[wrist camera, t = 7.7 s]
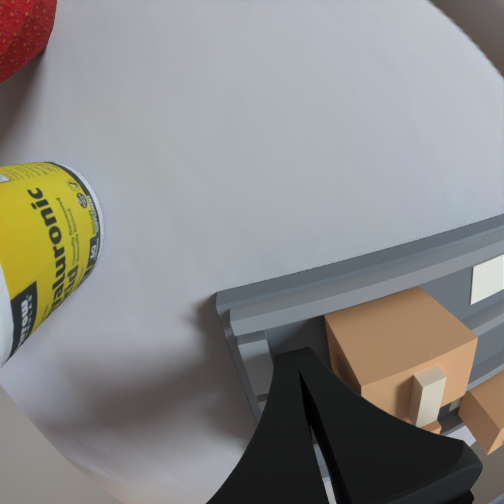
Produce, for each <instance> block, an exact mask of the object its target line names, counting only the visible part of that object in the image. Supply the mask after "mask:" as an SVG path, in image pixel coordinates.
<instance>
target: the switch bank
mask: <svg viewBox="0 0 504 504" xmlns="http://www.w3.org/2000/svg"><path fill="white" fill-rule="evenodd" d="M416 286H419V287H420V288H421V289H423V290H424V291H425V292H426V293H427V294H429V295H430V296H431V297H432V298H433V299H435V300H436V301H437V302H438V303H439V304H441V305H442V306H443V307H444V308H445V309H447V310H448V311H449V312H450V313H451V314H452V315H454V316H455V317H456V318H457V319H458V320H459V321H461V322H462V323H463V324H464V325H465V326H466V327H467V328H469V329H470V330H471V331H472V332H473V333H474V334H475V335H476V336H478V341H477V346H476V351H475V356H474V360H473V365H472V369H471V373H470V377H469V381H468V384H467V388H466V391H468V390H470V389H472V388H474V387H475V386H477V385H479V384H481V383H482V382H484V381H486V380H487V379H489V378H491V377H492V376H494V375H495V374H497V373H499V372H500V371H502V370H503V369H504V214H502V215H499V216H496V217H493V218H489V219H486V220H483V221H480V222H476V223H473V224H470V225H467V226H463V227H460V228H457V229H453V230H450V231H447V232H443V233H440V234H437V235H433V236H430V237H426V238H423V239H420V240H416V241H413V242H409V243H406V244H402V245H399V246H395V247H391V248H388V249H384V250H381V251H377V252H373V253H370V254H366V255H362V256H359V257H355V258H351V259H348V260H344V261H340V262H336V263H333V264H329V265H325V266H321V267H317V268H313V269H309V270H306V271H302V272H298V273H294V274H290V275H286V276H282V277H278V278H274V279H270V280H266V281H262V282H258V283H253V284H249V285H245V286H241V287H237V288H233V289H228V290H224V291H220V292H217V297H216V305H215V306H216V309H217V312H218V315H219V318H220V321H221V324H222V327H223V330H224V333H225V336H226V339H227V342H228V345H229V348H230V351H231V354H232V356H233V359H234V362H235V365H236V368H237V370H238V373H239V376H240V379H241V381H242V384H243V387H244V390H245V392H246V395H247V398H248V400H249V403H250V406H251V408H252V411H253V414H254V416H255V419H256V421H257V424H259V421H260V419H261V416H262V413H263V410H264V407H265V404H266V401H267V398H268V394H269V390H270V386H271V382H272V376H273V369H274V357H275V356H276V355H277V354H281V353H285V352H289V351H293V350H297V349H301V348H304V347H308V346H309V347H311V348H313V350H314V351H315V352H316V354H317V355H318V356H319V357H320V359H321V360H322V361H323V362H324V363H325V364H326V365H327V366H328V367H329V368H330V369H331V370H332V368H331V361H330V353H329V346H328V338H327V331H326V324H325V318H324V315H325V314H329V313H332V312H336V311H339V310H343V309H346V308H350V307H353V306H356V305H360V304H363V303H366V302H370V301H373V300H376V299H379V298H382V297H385V296H389V295H392V294H395V293H398V292H401V291H404V290H407V289H410V288H413V287H416ZM332 371H333V370H332ZM462 399H463V396H462V397H460V398H458V399H456V400H454V401H452V402H450V403H448V404H446V405H444V406H442V407H440V409H439V413H438V416H437V421H438V422H439V424H440V425H441V430H440V433H439V435H442V436H446V435H448V434H450V433H452V432H454V431H456V430H458V429H459V428H461V427H463V426H465V423H464V422H463V421H462V419H461V418H460V416H459V415H458V412H459V409H460V405H461V402H462ZM310 427H311V424H310ZM311 434H312V441H313V447H314V450H315V454H316V458H317V461H318V465H319V468H320V472H321V476H322V479H323V482H326V481H330V477H329V473H328V470H327V467H326V464H325V461H324V458H323V456H322V453H321V450H320V448H319V445H318V443H317V440H316V437H315V435H314V432H313V430H312V427H311Z"/></svg>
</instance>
